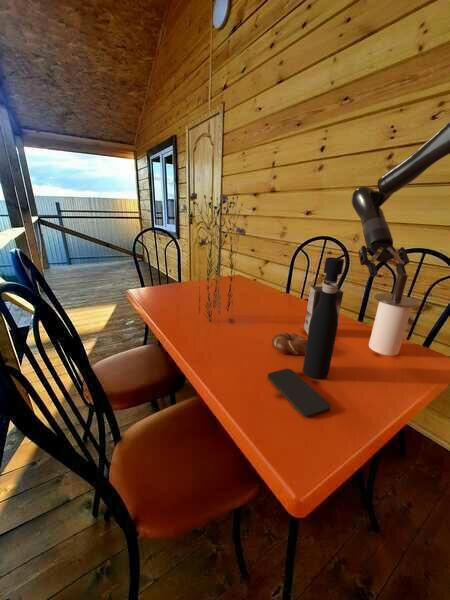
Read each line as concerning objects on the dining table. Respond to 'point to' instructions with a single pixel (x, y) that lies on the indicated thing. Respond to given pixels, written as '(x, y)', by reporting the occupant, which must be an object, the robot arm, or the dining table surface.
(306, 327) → the coffee box
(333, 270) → the dark water bottle
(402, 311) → the cup
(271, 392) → the dining table surface
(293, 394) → the phone
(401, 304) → the lid
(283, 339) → the pretzel
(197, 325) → the dining table surface
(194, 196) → the wildflower
